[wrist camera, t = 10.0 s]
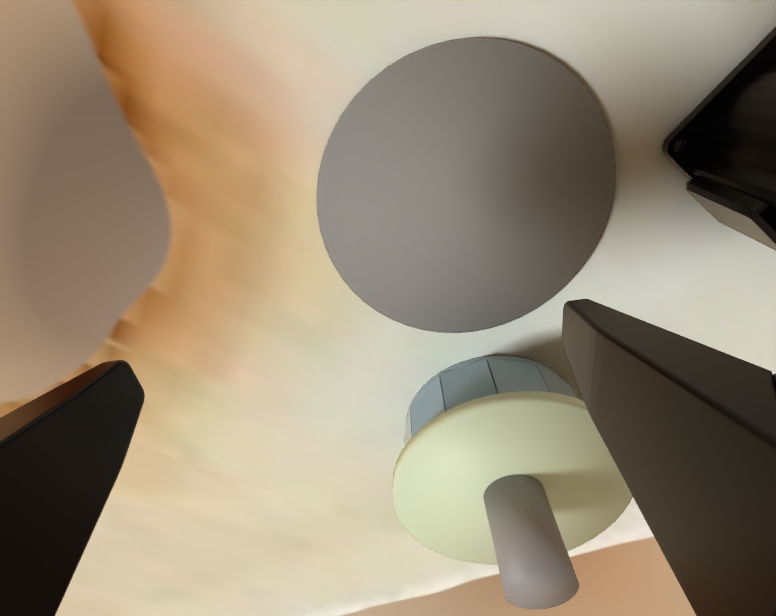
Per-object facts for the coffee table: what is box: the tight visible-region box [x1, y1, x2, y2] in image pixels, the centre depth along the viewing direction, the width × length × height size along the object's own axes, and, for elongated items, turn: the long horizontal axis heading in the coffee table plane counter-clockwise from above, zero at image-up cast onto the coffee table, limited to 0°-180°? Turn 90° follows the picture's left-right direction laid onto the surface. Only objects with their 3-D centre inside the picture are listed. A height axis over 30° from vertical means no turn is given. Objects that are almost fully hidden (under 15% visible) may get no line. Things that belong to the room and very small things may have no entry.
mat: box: [317, 38, 615, 333], centre depth 20 cm, size 13×13×1 cm
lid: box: [393, 391, 633, 609], centre depth 20 cm, size 12×12×5 cm
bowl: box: [404, 355, 578, 446], centre depth 25 cm, size 10×10×4 cm
